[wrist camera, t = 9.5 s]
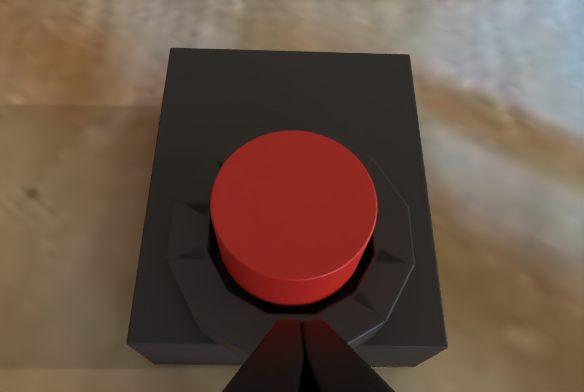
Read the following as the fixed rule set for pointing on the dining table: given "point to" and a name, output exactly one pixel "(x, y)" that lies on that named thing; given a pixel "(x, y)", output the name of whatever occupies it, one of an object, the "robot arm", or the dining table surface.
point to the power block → (235, 133)
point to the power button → (292, 216)
